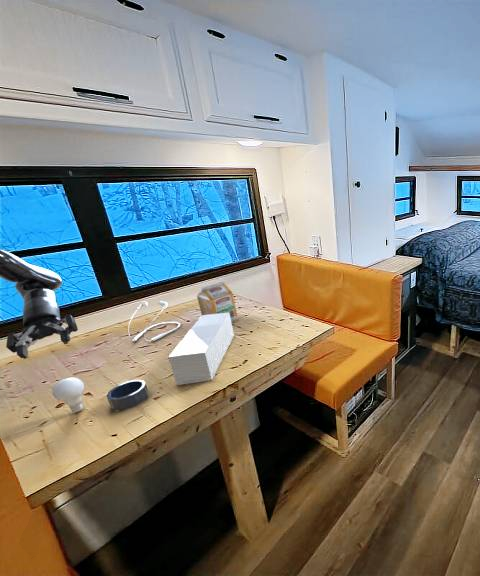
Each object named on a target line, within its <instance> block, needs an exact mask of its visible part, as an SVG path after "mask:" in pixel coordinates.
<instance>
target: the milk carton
mask: <svg viewBox="0 0 480 576" xmlns="http://www.w3.org/2000/svg"><path fill="white" fill-rule="evenodd" d="M196 298H197V302H198V306H199V309H200V314H201V315H210V314H219V313H230V318H231V322H232V324H233V323H236V322H238V321H239V317H238V312H237V308H236V303H235V298H234V293H233V292H232V290H231V288H229V287H228V286H227V285H226V284H225V281H224V280H221V281H219V282H215V283H212V284H209V285H205V286H202V287H200V291H199V292H198V293H197V295H196Z"/></svg>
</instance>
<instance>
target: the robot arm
mask: <svg viewBox="0 0 480 576" xmlns="http://www.w3.org/2000/svg"><path fill="white" fill-rule="evenodd" d="M0 278H1V279H3V280H5V281H6V282H10V283H15V285H14V289H15V290H16V292H17V293H18V294H20V296H21V298H22V299H23V309H22V323H23V329H22V331H21V332H18V333H14V332H9V333H8V334H7V338H6V343H5V344H6V345H5V346H6V349H8V350H9V351H10V352H11V353H16V355H17V356H18V357H19V358H20V359H23V360H26V359H29V348H30V347H31V346H33V345H35V344H36V343H37V342H38V341H39V340H43V339H45V338H47V337H51V336H54V334H55V335H59V337H60V341H61V342H62V343H63V345H67V344H69V342H70V341H71V333H75V332H77V331H78V330H79V328H78V325H77V322H76V319H75V318H74V317H73V316H72V315H71V314H66V315H65V317H64V318H61V314H60V312H61V311H60V307H59V304H58V301H57V294H56V293H55V292H54V291H55V290H58V289H59V288H61V287H62V285H63V280H62V278H61V276H60V275H58V274H57V273H56V272H54V271H52V270H49V269H46V268H43V267H40V266H37V265H34V264H31V263H28V262H26V261H25V260H23V259H22V258H20V257H19V256H17V255H15V254H13V253H11V252H10V251H7V250H6V249H5V250H4V249H3V248H0ZM64 324H65V325H67V326H66V327H64V326H63V325H64Z"/></svg>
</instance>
